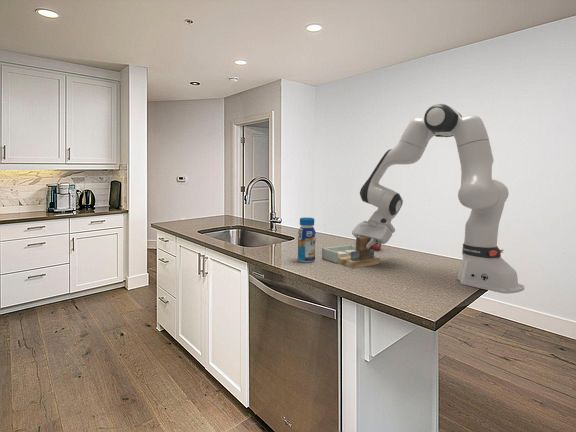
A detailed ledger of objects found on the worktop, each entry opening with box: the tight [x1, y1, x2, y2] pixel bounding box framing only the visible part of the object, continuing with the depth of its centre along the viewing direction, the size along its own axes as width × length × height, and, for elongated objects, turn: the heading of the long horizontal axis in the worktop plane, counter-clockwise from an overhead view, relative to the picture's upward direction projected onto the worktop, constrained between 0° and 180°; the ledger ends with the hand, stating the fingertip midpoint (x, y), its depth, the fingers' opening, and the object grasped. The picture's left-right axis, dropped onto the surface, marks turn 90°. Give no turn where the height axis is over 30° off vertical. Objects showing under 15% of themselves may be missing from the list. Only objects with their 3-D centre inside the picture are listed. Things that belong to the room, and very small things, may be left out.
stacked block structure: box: [351, 236, 375, 261], centre depth 164 cm, size 4×12×10 cm, turn 121°
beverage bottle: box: [297, 217, 317, 263], centre depth 170 cm, size 8×8×20 cm
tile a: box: [344, 250, 355, 256], centre depth 177 cm, size 5×5×3 cm
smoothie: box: [370, 242, 382, 252], centre depth 196 cm, size 8×8×20 cm
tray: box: [321, 244, 356, 264], centre depth 175 cm, size 11×18×5 cm, turn 121°
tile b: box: [338, 251, 348, 258], centre depth 173 cm, size 5×5×3 cm
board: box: [337, 256, 381, 269], centre depth 167 cm, size 10×16×2 cm, turn 121°
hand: (361, 246), depth 164 cm, fingers open, 5 cm apart
